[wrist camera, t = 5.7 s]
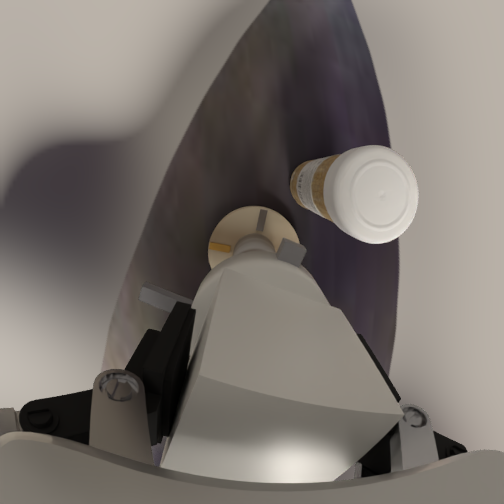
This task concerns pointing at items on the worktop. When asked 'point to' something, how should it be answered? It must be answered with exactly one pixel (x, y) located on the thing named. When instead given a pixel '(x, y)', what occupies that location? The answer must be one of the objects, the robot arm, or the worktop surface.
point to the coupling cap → (272, 377)
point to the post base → (248, 233)
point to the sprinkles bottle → (360, 192)
